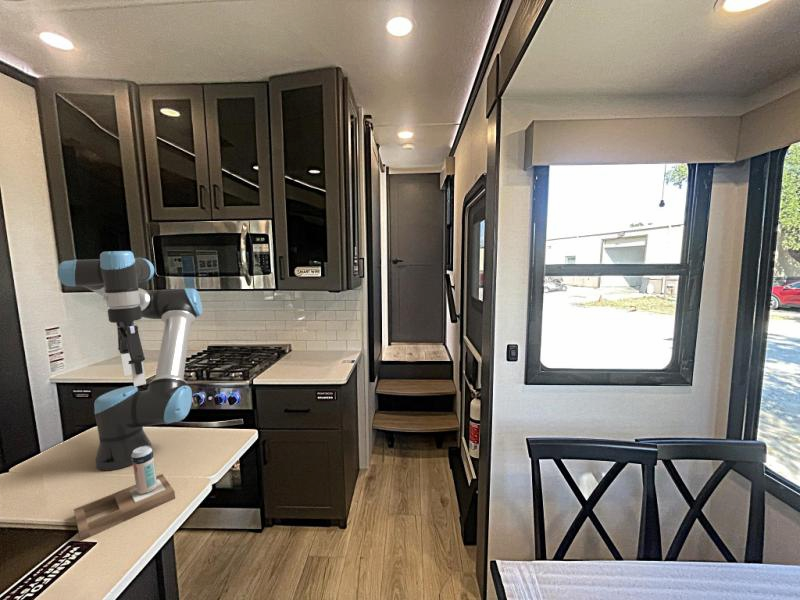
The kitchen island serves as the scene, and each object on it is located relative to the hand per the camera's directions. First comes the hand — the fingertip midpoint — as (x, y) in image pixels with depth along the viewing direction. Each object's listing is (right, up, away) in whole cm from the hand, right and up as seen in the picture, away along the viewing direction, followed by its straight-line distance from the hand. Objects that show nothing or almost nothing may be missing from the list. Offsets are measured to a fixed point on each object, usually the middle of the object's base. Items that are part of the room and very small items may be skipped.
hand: (134, 379), depth 106 cm
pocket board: (+3, -33, -7) cm, 34 cm away
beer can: (+6, -30, -3) cm, 31 cm away
